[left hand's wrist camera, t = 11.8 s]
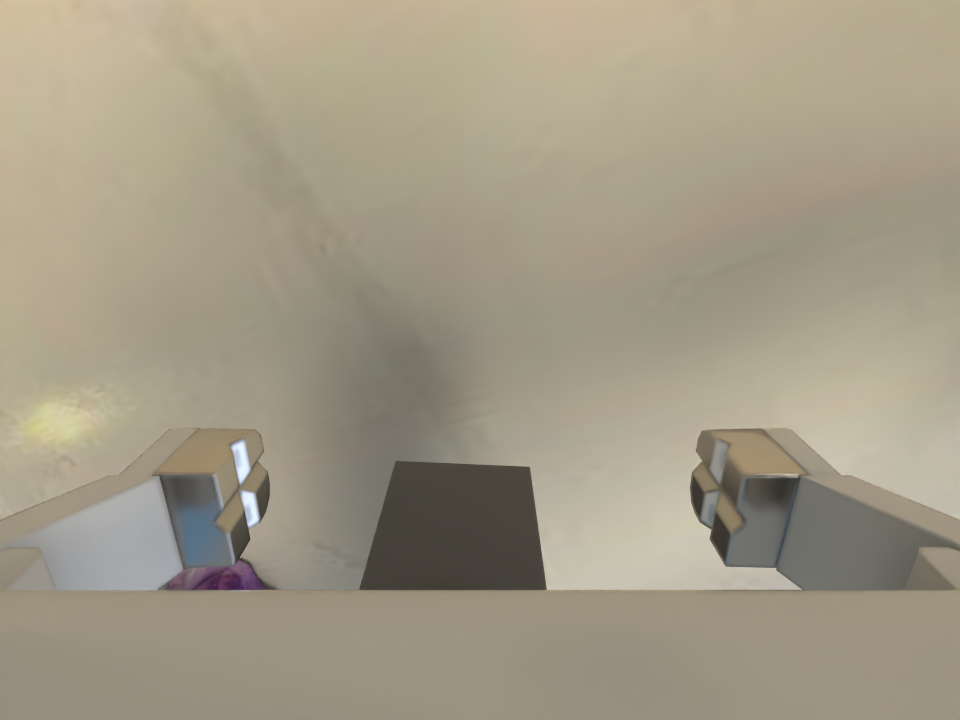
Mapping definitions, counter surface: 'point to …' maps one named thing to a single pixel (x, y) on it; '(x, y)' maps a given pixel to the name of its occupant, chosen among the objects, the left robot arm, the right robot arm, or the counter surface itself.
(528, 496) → the box
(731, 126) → the counter surface
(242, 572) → the figurine
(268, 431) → the counter surface
